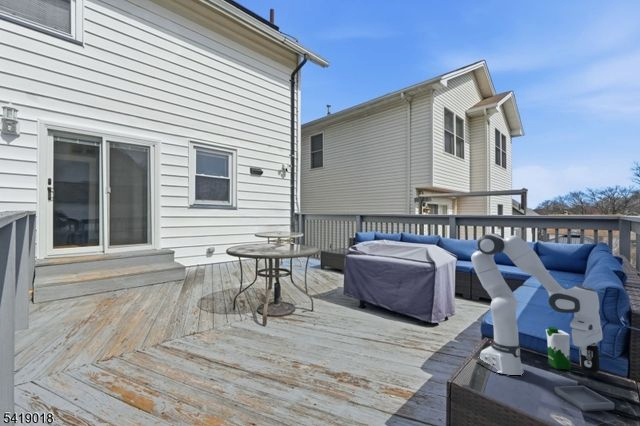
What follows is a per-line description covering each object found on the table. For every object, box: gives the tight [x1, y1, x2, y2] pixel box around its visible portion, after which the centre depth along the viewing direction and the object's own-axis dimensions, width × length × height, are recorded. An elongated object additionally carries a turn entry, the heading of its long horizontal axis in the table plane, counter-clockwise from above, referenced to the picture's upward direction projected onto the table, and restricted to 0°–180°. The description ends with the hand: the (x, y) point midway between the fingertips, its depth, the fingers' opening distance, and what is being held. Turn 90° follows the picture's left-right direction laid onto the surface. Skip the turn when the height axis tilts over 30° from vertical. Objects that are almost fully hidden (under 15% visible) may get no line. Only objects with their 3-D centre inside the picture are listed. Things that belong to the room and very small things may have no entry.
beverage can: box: [578, 343, 601, 373], centre depth 136 cm, size 7×7×12 cm
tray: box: [554, 385, 616, 412], centre depth 128 cm, size 14×14×3 cm
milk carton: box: [545, 326, 572, 370], centre depth 160 cm, size 9×9×20 cm
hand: (588, 353), depth 136 cm, fingers closed on beverage can, 7 cm apart
